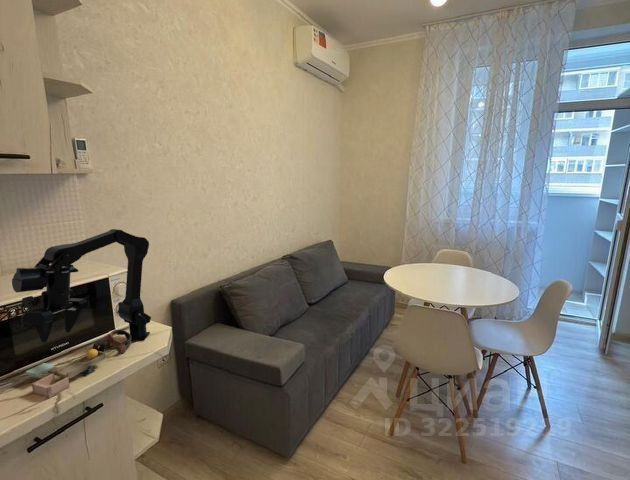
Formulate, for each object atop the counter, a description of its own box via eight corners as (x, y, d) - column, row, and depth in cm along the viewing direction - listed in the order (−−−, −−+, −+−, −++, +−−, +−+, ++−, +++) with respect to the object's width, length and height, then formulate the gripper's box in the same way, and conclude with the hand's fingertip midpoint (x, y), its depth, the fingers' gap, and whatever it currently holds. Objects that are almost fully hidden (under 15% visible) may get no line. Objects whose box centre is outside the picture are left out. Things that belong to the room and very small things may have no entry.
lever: (76, 352, 110) (76, 345, 109) (107, 359, 106) (106, 352, 105) (26, 376, 96) (25, 369, 95) (59, 385, 92) (58, 378, 91)
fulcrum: (83, 368, 104) (82, 362, 104) (95, 371, 102) (94, 365, 102) (73, 373, 101) (73, 367, 101) (86, 376, 100) (85, 370, 99)
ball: (90, 356, 105) (89, 347, 105) (100, 355, 106) (99, 347, 105) (85, 361, 102) (84, 352, 102) (95, 360, 103) (94, 351, 102)
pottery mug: (115, 343, 121) (125, 325, 121) (129, 360, 118) (139, 342, 117) (82, 350, 110) (93, 330, 109) (96, 368, 107) (107, 348, 106)
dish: (53, 382, 96) (52, 373, 96) (69, 386, 94) (68, 377, 94) (33, 393, 91) (31, 383, 91) (49, 398, 89) (48, 388, 89)
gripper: (56, 280, 109) (54, 325, 110) (3, 291, 90) (1, 346, 91) (89, 282, 109) (87, 328, 110) (42, 294, 90) (41, 349, 91)
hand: (56, 336), depth 100 cm, fingers open, 9 cm apart
